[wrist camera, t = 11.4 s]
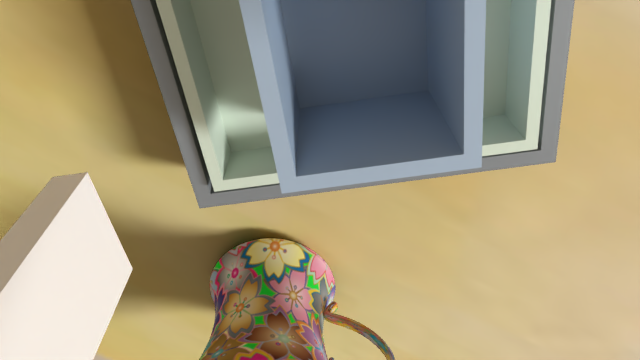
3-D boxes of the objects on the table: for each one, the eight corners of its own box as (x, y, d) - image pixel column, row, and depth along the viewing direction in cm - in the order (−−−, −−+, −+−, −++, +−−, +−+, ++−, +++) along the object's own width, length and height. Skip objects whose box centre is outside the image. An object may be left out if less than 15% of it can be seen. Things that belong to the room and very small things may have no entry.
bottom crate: (121, -133, 22) (85, -135, 18) (553, -210, 21) (601, -227, 17) (212, 170, 30) (199, 208, 26) (526, 128, 29) (555, 161, 25)
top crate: (151, -106, 22) (124, -103, 18) (529, -172, 21) (568, -180, 17) (225, 156, 28) (214, 191, 25) (511, 117, 27) (537, 149, 24)
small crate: (252, -69, 22) (228, -47, 15) (435, -100, 21) (488, -90, 15) (289, 117, 26) (281, 193, 20) (439, 96, 26) (481, 167, 20)
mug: (222, 331, 37) (193, 477, 28) (191, 232, 32) (144, 371, 23) (382, 316, 37) (406, 461, 27) (375, 213, 32) (400, 348, 23)
